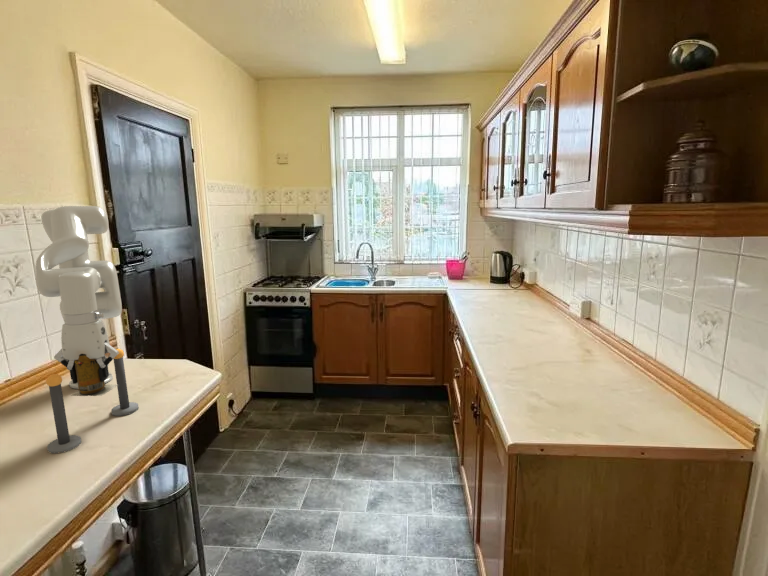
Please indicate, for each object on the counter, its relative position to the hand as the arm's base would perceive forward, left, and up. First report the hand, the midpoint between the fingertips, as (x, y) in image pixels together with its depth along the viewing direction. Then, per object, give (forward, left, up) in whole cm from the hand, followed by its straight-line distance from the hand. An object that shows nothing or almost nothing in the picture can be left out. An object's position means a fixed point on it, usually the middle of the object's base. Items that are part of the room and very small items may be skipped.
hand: (90, 380), depth 118 cm
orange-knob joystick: (+9, -4, -14) cm, 17 cm away
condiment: (0, +1, -3) cm, 3 cm away
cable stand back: (-9, +4, -14) cm, 17 cm away
